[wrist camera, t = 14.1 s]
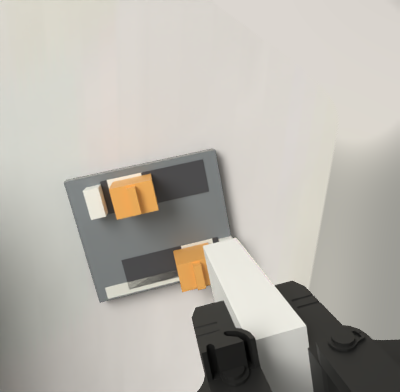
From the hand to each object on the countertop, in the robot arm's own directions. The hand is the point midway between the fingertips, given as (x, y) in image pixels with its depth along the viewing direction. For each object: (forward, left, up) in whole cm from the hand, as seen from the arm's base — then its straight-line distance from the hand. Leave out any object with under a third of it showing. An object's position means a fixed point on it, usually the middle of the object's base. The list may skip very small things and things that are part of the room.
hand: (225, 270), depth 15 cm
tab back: (0, -9, -22) cm, 24 cm away
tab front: (-5, 0, -22) cm, 23 cm away
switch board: (-3, -5, -24) cm, 25 cm away
